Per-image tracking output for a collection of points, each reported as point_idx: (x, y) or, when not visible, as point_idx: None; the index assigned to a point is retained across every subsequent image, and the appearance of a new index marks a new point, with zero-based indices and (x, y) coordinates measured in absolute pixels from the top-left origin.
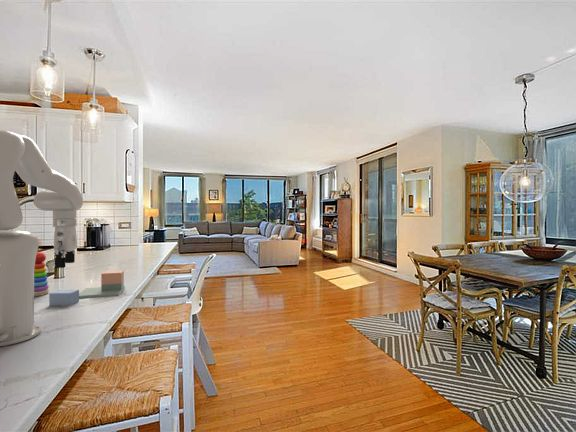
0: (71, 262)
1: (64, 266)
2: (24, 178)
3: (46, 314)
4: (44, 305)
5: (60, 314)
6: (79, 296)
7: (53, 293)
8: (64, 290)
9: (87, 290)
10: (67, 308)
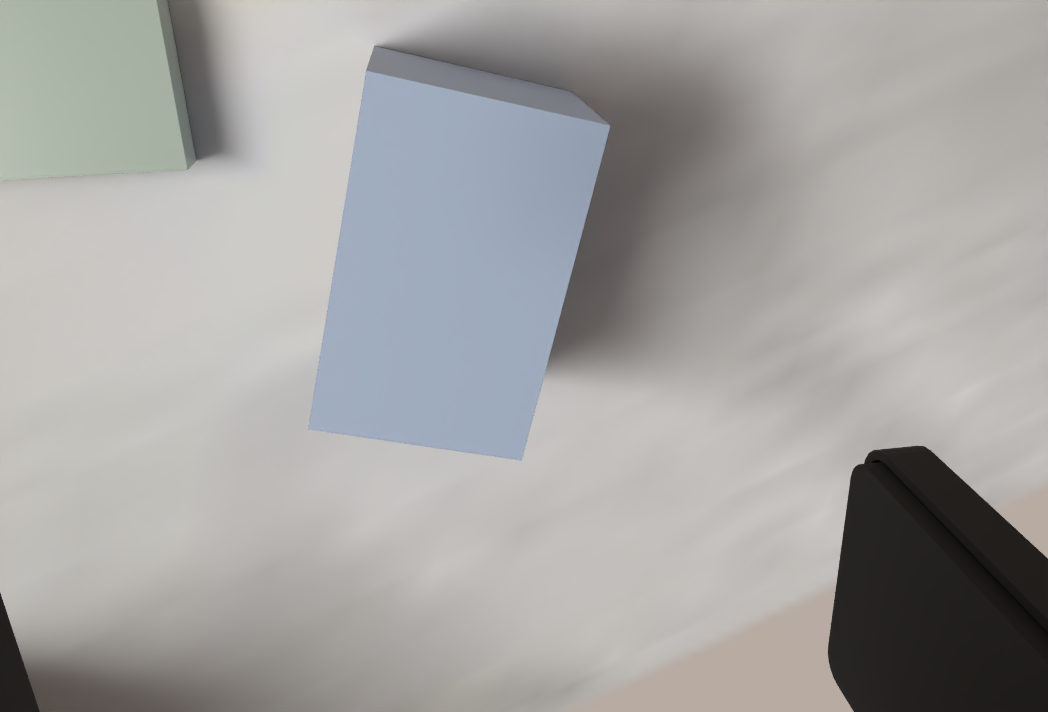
0: (3, 609)
1: (938, 461)
2: None
3: (889, 237)
4: None
5: (965, 61)
6: (181, 111)
7: (537, 400)
8: (375, 315)
9: None
10: (718, 77)
